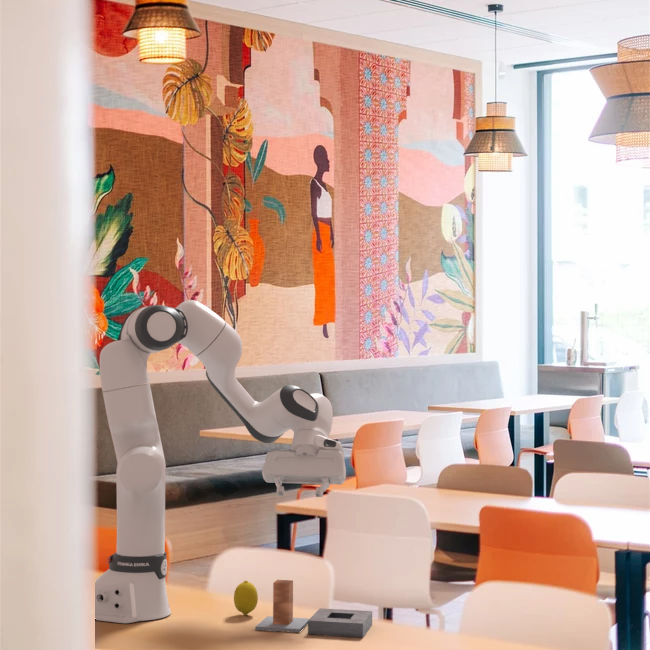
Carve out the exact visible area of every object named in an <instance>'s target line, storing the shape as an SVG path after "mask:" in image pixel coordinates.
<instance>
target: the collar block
mask: <svg viewBox="0 0 650 650" xmlns="http://www.w3.org/2000/svg"><path fill="white" fill-rule="evenodd" d="M308 619H309V620H308V625H307V635H308V634H315V635H314V636H324V635H327V636H326V637H340V638H341V637H342V638H343V637H344V638H358V639H359V638H361V639H363V638H364V637H365V635H366V634H367V633H368V631H369V630H370V628H371V627H372V626H373V610H359V609H358V610H357V609H355V610H354V609H340V608H321V607H320V608H319V609H317V611H315V613H314V614H312V616H311V617H310V618H308Z"/></svg>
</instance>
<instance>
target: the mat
mask: <svg viewBox="0 0 650 650" xmlns="http://www.w3.org/2000/svg"><path fill="white" fill-rule="evenodd" d="M309 619H310V618H307V617H306V618H305V617H293V621H292V622H291V623H290V624H289V625H282V624H273V615H272V616H271V615H270V616H269V615H267V616H266V617H265V618H264V619H262V620H261V621H260V622H259V623H257V625H256V626H255V627H254V628H255V631H259V630H262V632H264V630H265V632H276V631H289V632H288V633H293V632H300V631H301V630H302V629H303V628H304V627H305V626H306V625H307V624H308V620H309ZM307 626H308V625H307ZM307 626H306V627H307ZM306 627H305V628H306ZM305 628H304V629H305ZM304 629H303V630H304ZM268 630H270V631H268ZM303 630H302V631H303ZM302 631H301V632H302ZM301 632H300V633H301Z"/></svg>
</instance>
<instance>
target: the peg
mask: <svg viewBox="0 0 650 650" xmlns="http://www.w3.org/2000/svg"><path fill="white" fill-rule="evenodd" d="M272 591H273V592H272V593H273V595H272V597H273V598H272V602H273V603H272V617H273V624H282V625H289V624H290V623H291V622H292V621H293V618H294V616H293V615H294V580H290V579H289V580H288V579H276V580H275V581H274V582H273V589H272Z"/></svg>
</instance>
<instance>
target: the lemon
mask: <svg viewBox="0 0 650 650" xmlns="http://www.w3.org/2000/svg"><path fill="white" fill-rule="evenodd" d="M258 598H259V597H258V590H257V587H256V586H255V585H254V584H253V583H251V582H249V581H248V580H244V581H243V582H241V583H239V584H238V585H237V586H236V588H235V590H234V594H233V603H234V606H235V608H236V610H237V611H238V612H240V613H242V614H243V615H244V616H248V615H247V614H249V613H252V612H253V611H254V610H255V608H257V606H258V601H259V599H258Z"/></svg>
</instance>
